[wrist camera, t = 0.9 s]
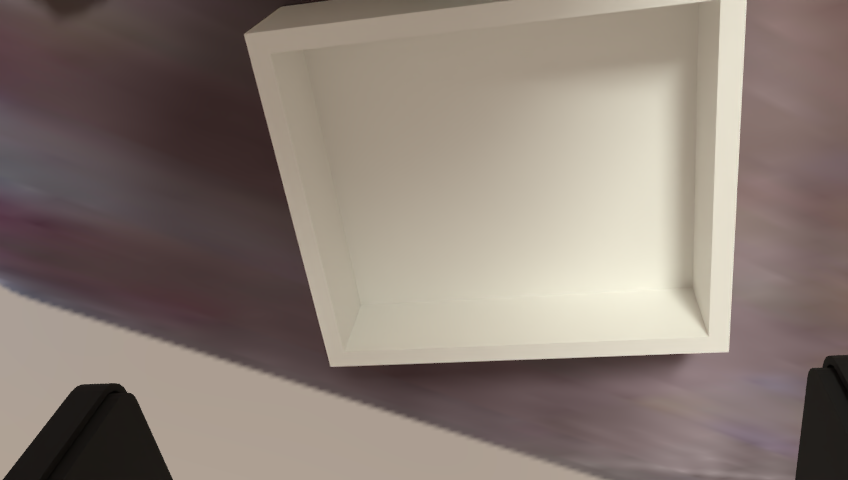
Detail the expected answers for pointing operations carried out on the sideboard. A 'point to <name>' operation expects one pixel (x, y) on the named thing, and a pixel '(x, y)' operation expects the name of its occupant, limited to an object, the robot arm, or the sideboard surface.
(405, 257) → the big crate
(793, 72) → the sideboard surface
